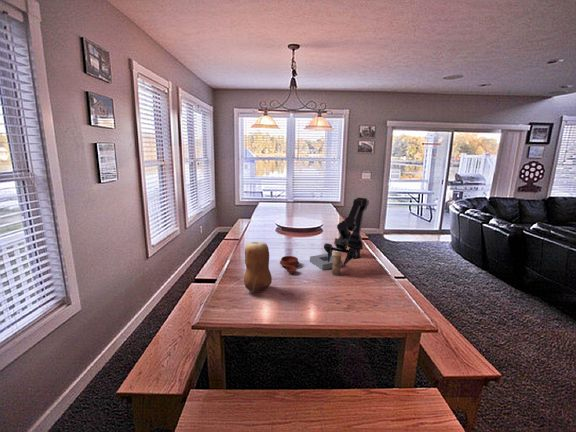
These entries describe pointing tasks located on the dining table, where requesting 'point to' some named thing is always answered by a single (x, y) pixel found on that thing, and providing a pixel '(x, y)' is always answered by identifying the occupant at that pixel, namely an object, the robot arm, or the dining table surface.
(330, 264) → the socket block
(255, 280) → the butternut squash
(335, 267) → the tan wooden cylinder
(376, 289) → the dining table surface
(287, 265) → the pottery
